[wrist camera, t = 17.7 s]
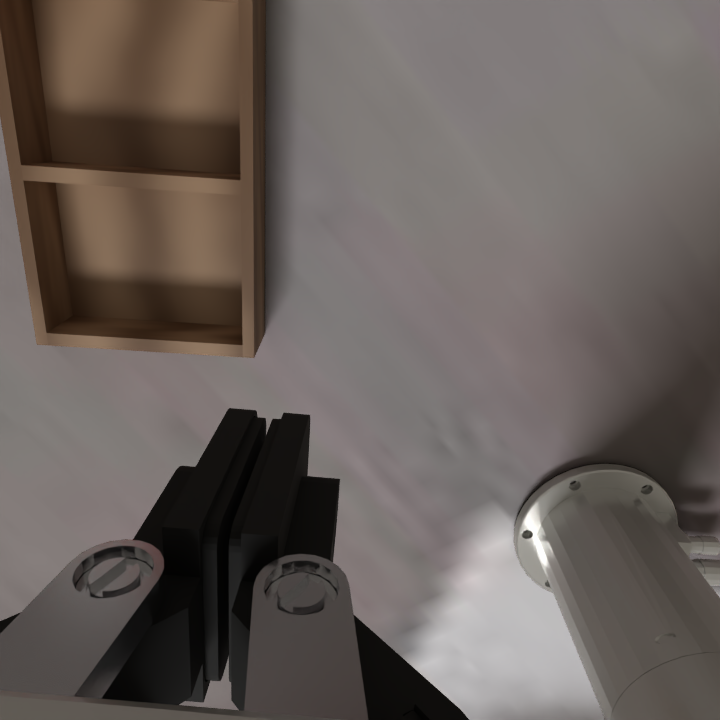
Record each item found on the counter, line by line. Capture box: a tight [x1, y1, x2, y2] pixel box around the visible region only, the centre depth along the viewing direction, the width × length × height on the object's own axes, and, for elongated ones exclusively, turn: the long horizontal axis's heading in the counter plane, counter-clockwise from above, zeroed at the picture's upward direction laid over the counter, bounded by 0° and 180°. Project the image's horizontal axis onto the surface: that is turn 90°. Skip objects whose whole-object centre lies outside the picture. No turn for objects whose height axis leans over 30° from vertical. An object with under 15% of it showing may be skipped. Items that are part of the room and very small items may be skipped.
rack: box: [0, 0, 266, 358], centre depth 32 cm, size 14×30×5 cm, turn 176°
